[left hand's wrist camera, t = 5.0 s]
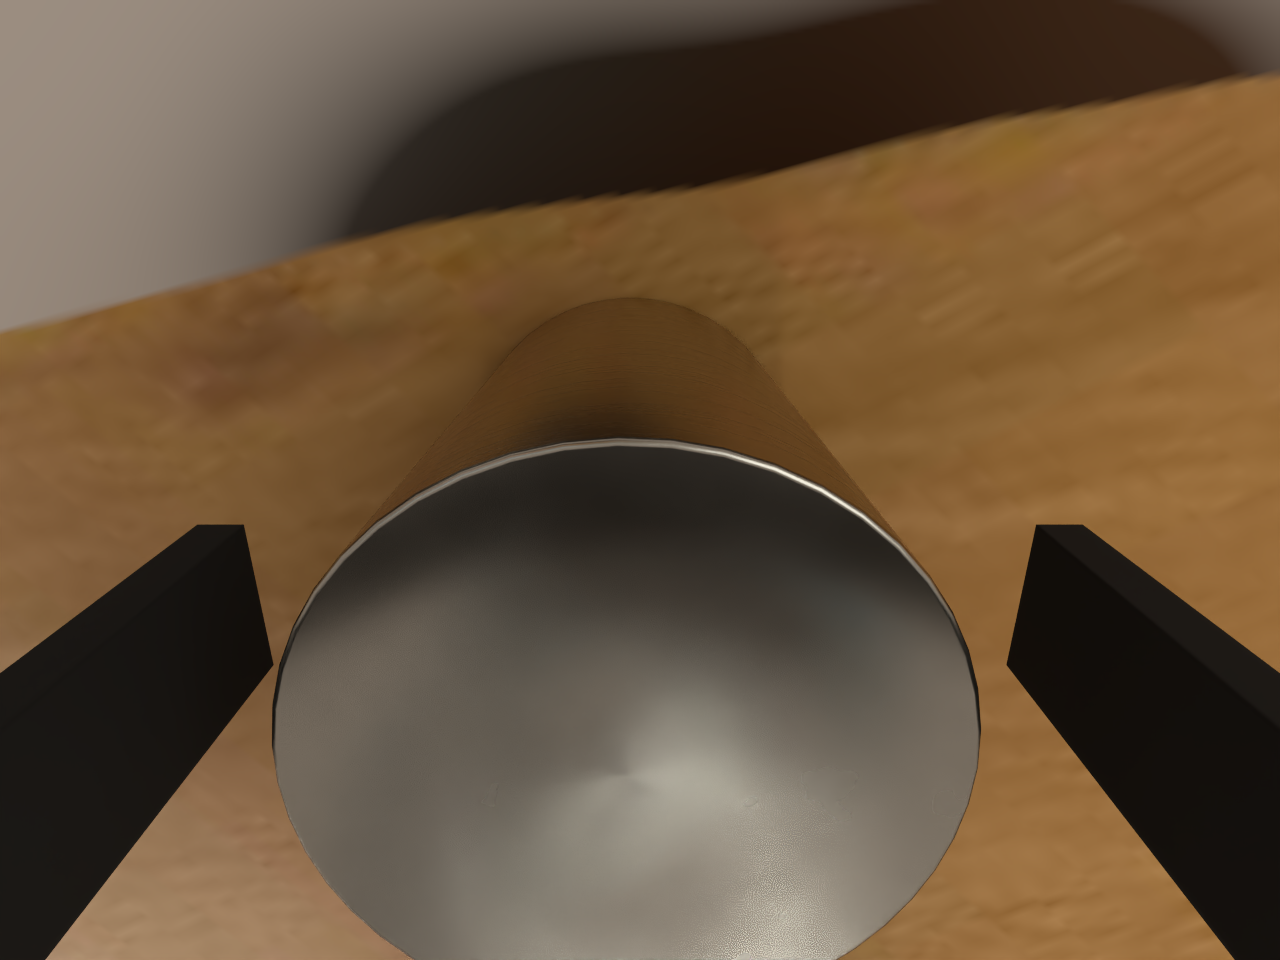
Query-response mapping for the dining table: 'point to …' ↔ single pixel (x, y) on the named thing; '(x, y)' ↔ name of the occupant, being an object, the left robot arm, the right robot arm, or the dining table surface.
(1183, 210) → the dining table surface
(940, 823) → the tin
